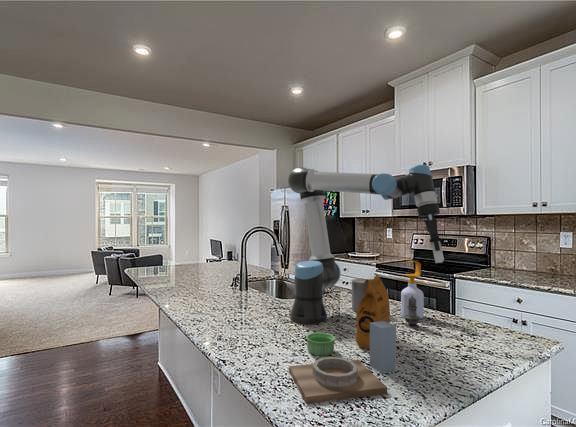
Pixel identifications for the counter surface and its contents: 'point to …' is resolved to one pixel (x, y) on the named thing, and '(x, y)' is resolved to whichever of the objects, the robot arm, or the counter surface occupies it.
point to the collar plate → (334, 392)
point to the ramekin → (320, 343)
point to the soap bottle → (413, 293)
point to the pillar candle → (358, 292)
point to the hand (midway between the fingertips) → (439, 261)
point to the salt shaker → (412, 314)
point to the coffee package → (371, 310)
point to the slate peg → (383, 346)
